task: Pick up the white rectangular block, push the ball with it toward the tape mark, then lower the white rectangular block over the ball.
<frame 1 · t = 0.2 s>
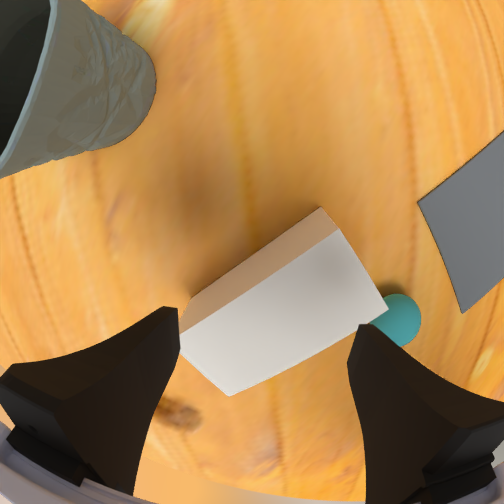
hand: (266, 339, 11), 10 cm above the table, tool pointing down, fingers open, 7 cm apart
ball: (395, 320, 19), on the table
drinking glass: (107, 96, 17), on the table
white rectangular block: (275, 285, 21), on the table
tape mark: (491, 224, 18), on the table
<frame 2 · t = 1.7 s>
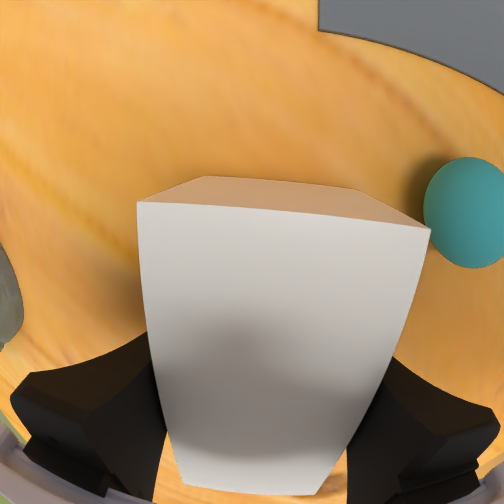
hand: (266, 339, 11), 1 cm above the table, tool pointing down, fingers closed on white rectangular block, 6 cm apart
ball: (472, 212, 8), on the table
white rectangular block: (267, 320, 12), on the table, touching gripper
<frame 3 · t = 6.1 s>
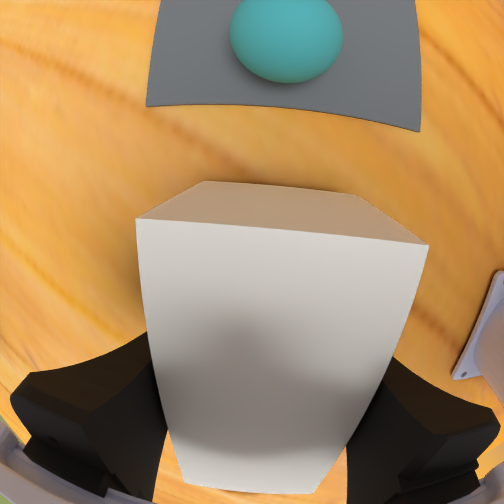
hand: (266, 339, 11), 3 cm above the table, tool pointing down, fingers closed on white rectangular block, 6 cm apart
ball: (286, 33, 8), on the table
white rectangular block: (267, 322, 12), point 1 cm above the table, touching gripper
when the fingers open (2 cm above the table, at t = 12.3 s): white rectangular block stays where it is, on the table.
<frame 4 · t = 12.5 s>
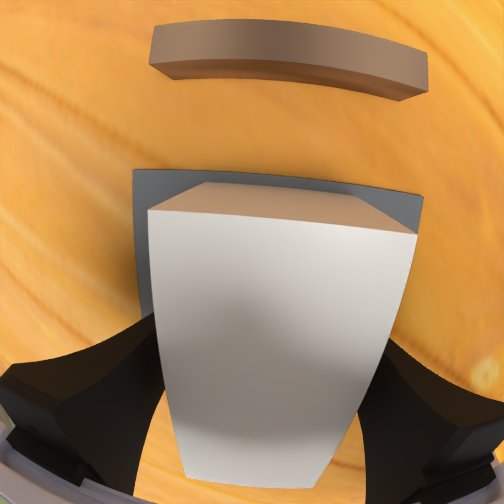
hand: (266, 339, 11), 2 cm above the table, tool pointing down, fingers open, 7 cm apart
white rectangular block: (267, 318, 13), on the table
brown rectangular bar: (289, 64, 9), on the table
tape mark: (268, 314, 13), on the table
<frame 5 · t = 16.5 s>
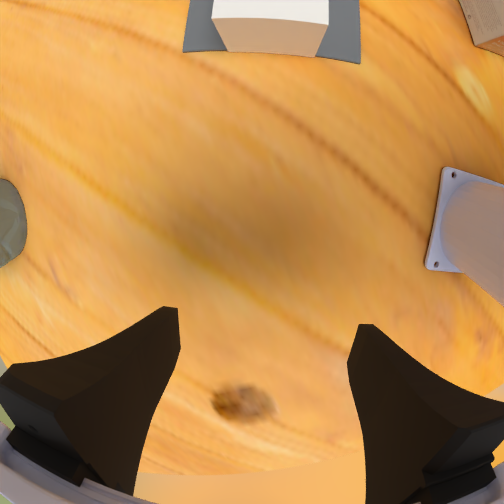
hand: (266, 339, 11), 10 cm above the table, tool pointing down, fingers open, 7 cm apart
drinking glass: (6, 219, 21), on the table
small box: (493, 32, 12), on the table
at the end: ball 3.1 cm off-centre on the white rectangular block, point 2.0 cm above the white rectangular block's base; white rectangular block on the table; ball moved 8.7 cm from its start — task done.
